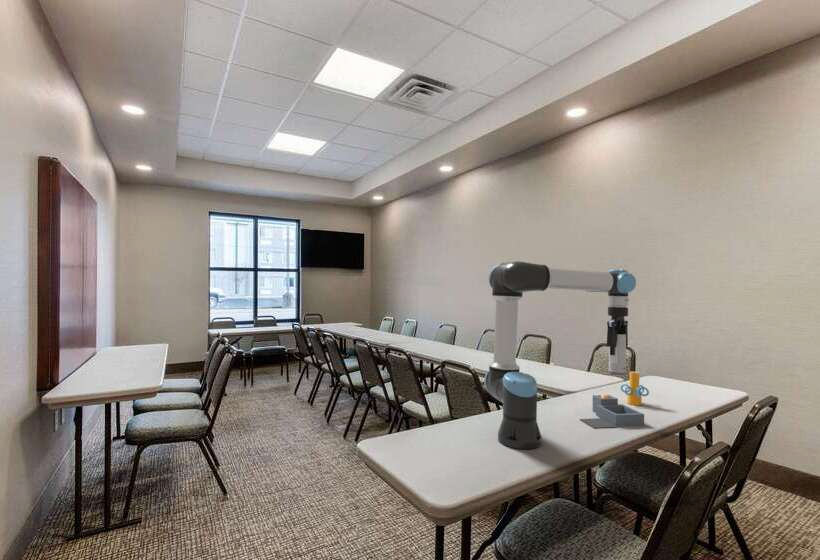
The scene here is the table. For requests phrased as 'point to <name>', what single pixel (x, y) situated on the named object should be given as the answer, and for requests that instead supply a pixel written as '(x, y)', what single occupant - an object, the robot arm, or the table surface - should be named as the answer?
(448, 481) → the table surface
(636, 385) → the cylinder
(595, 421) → the rubber mat
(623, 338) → the travel mug
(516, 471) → the table surface
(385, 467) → the table surface
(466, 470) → the table surface
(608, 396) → the orange rounded peg
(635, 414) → the grey compartment tray
